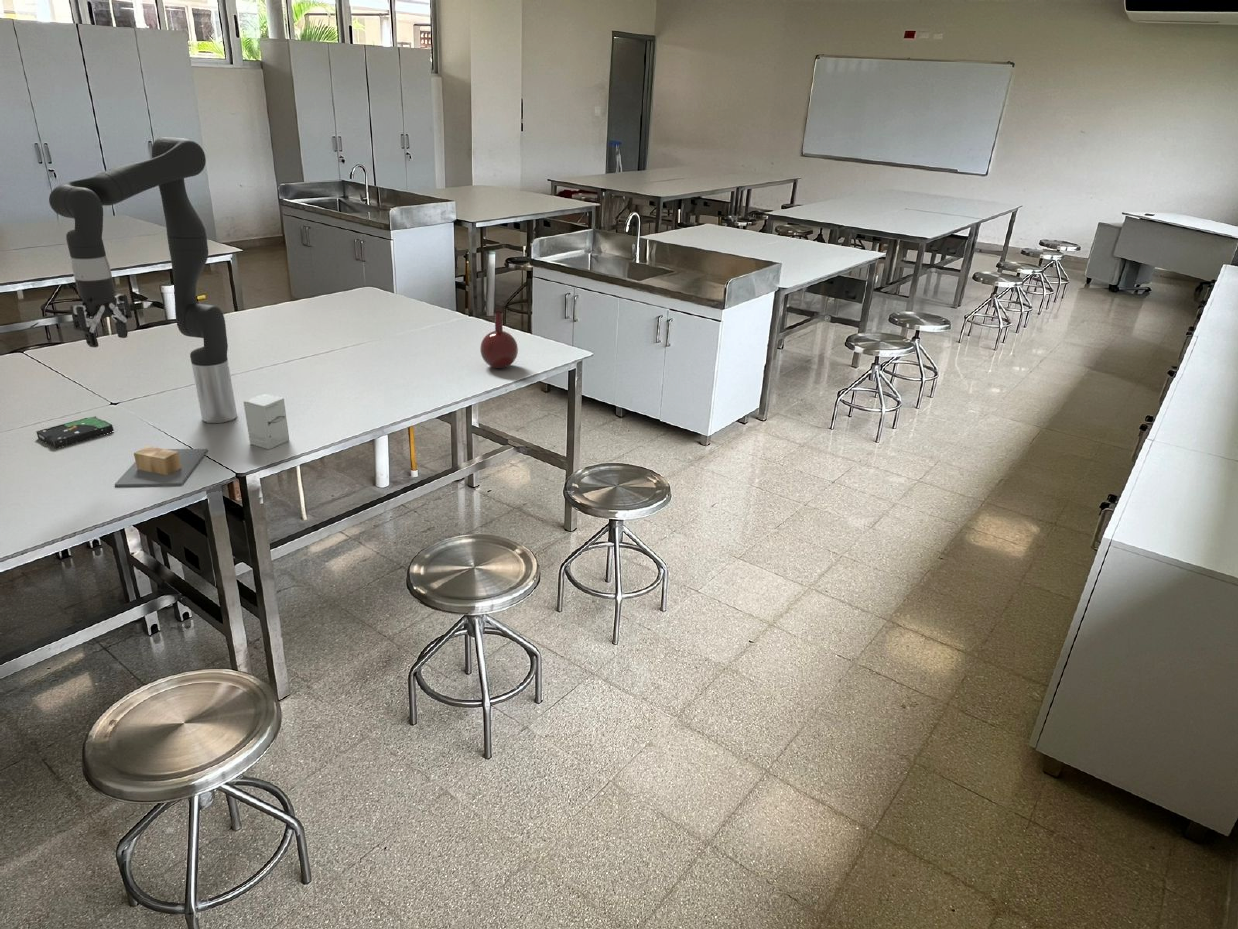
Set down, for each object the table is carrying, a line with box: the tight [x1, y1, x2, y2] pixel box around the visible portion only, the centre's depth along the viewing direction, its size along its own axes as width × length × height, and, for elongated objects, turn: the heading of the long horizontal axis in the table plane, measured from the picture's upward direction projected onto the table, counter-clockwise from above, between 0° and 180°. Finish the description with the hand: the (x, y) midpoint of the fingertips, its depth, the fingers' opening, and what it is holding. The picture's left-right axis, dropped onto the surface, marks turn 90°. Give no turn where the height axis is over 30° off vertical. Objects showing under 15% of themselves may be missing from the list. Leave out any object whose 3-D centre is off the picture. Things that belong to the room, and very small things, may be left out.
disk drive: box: [35, 415, 115, 449], centre depth 214 cm, size 10×3×15 cm
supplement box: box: [243, 393, 290, 450], centre depth 214 cm, size 7×7×13 cm
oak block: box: [133, 445, 181, 475], centre depth 197 cm, size 4×4×9 cm
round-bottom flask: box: [479, 310, 519, 369], centre depth 278 cm, size 13×13×20 cm
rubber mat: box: [113, 448, 209, 487], centre depth 200 cm, size 20×15×1 cm
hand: (108, 341), depth 193 cm, fingers open, 8 cm apart
